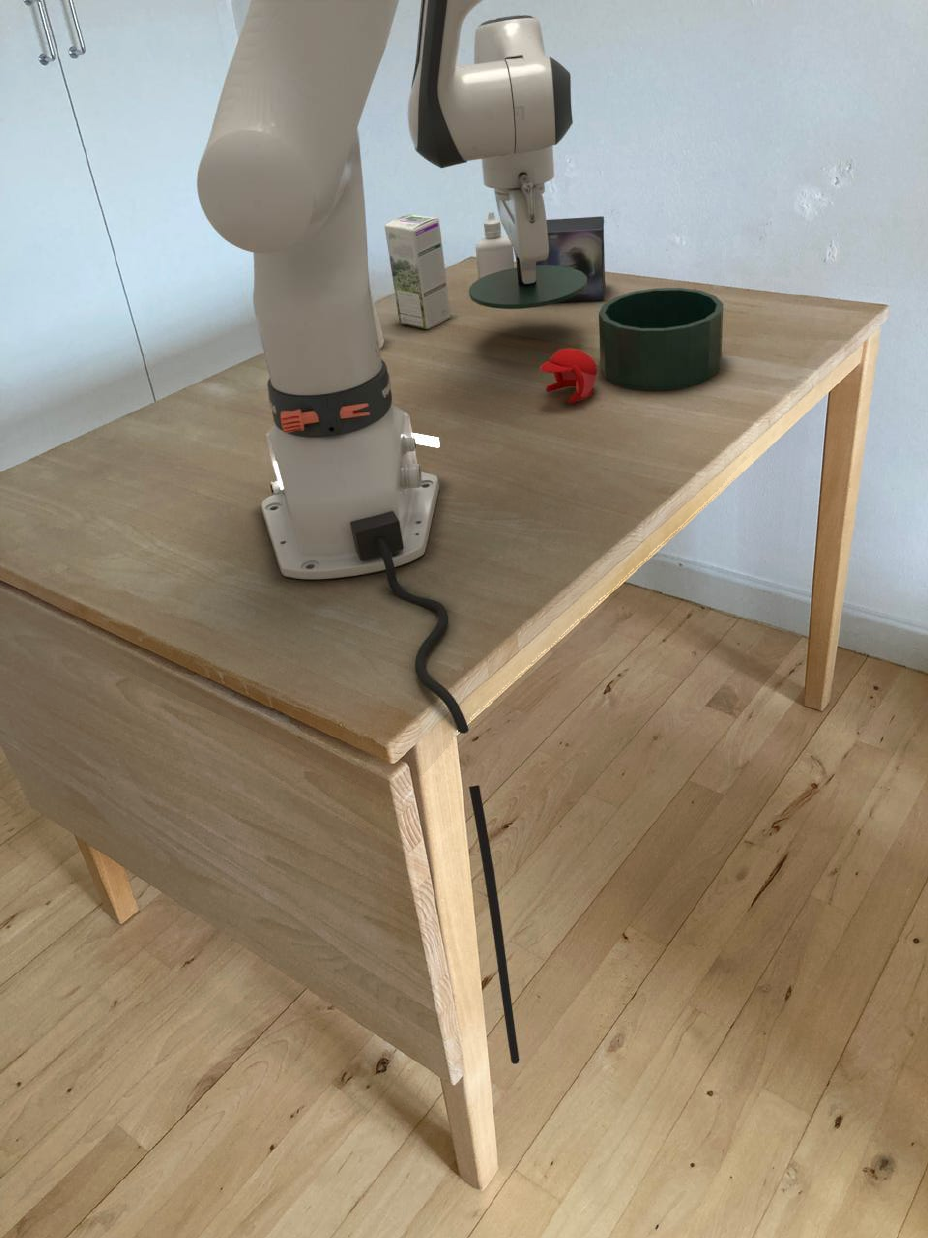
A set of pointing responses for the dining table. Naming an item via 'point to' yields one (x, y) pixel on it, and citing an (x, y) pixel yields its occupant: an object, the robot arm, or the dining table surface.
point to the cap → (572, 372)
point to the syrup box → (418, 270)
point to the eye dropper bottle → (493, 249)
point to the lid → (527, 287)
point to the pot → (661, 338)
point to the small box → (579, 252)
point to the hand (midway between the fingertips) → (526, 277)
